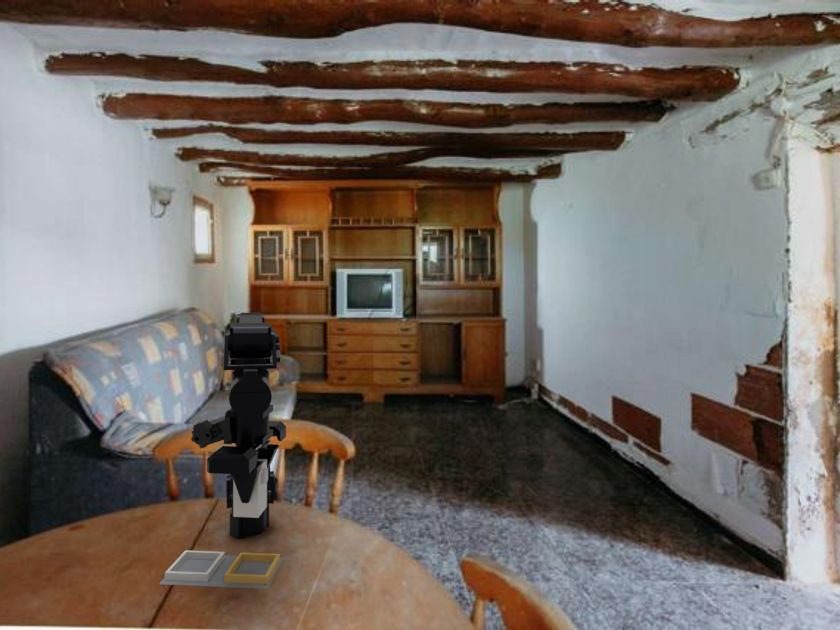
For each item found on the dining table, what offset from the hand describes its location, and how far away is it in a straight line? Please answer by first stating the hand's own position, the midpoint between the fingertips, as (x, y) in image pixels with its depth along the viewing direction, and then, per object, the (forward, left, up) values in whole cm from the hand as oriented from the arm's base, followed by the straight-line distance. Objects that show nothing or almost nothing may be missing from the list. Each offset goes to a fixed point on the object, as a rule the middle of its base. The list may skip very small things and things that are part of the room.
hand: (250, 497), depth 85 cm
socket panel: (+2, -4, -13) cm, 14 cm away
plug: (0, 0, -2) cm, 2 cm away
